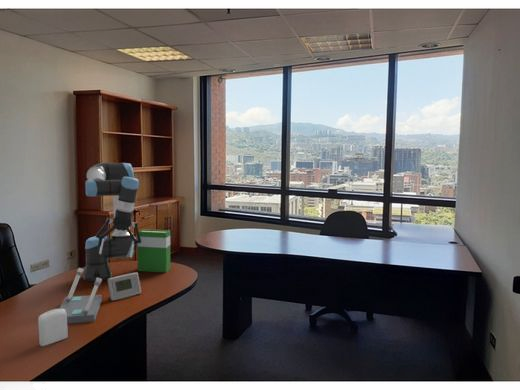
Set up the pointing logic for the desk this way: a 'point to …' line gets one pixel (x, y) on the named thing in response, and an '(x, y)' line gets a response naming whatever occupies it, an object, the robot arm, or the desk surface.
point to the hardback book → (154, 250)
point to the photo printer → (52, 326)
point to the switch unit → (81, 308)
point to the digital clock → (124, 286)
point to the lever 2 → (92, 294)
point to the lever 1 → (74, 283)
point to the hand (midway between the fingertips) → (115, 255)
